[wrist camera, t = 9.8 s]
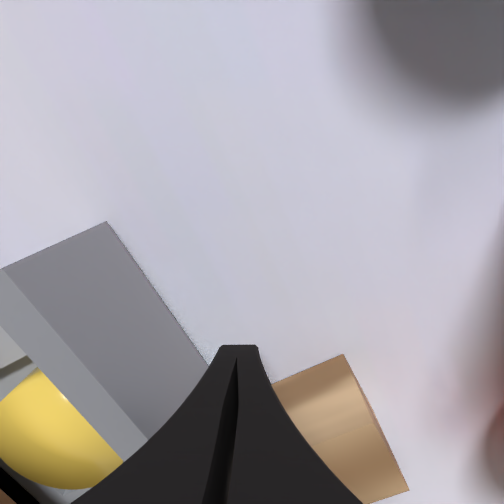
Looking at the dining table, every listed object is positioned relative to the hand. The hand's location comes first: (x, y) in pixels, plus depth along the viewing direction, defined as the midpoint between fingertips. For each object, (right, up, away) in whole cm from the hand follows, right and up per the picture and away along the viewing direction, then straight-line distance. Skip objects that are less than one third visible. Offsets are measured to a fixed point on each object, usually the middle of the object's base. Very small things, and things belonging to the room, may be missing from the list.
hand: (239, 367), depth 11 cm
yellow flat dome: (-8, -3, +4) cm, 9 cm away
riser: (+4, -3, +5) cm, 7 cm away
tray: (-7, -3, +4) cm, 9 cm away
